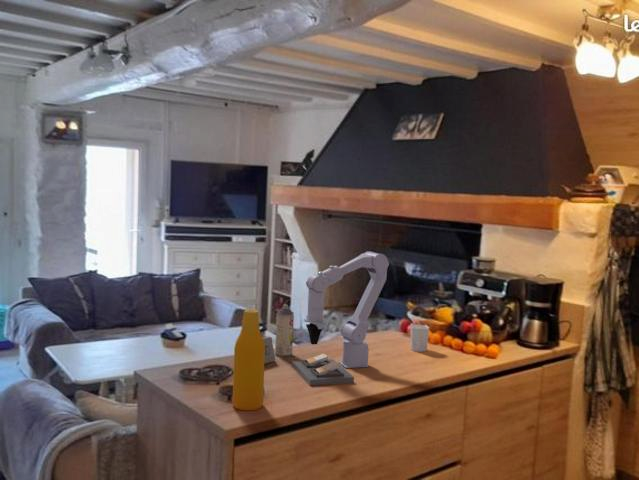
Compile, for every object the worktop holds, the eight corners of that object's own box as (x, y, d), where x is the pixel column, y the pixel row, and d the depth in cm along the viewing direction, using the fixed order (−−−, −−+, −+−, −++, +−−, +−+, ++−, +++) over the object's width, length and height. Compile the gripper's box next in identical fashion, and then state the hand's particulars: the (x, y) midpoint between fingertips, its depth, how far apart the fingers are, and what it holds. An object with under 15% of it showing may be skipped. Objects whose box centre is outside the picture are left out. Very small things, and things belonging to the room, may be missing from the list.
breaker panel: (332, 364, 227) (332, 354, 226) (353, 382, 206) (354, 372, 206) (291, 366, 222) (292, 356, 221) (309, 385, 201) (310, 374, 200)
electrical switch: (258, 366, 220) (257, 341, 220) (248, 364, 223) (247, 339, 223) (275, 361, 227) (274, 337, 227) (265, 359, 230) (265, 335, 230)
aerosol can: (291, 357, 233) (293, 307, 232) (273, 356, 234) (276, 306, 232) (292, 352, 240) (295, 303, 239) (276, 351, 241) (278, 302, 239)
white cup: (429, 352, 250) (430, 329, 249) (410, 351, 250) (412, 328, 249) (426, 347, 258) (427, 325, 257) (408, 346, 258) (409, 324, 257)
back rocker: (325, 357, 222) (323, 353, 221) (328, 360, 218) (327, 356, 217) (307, 363, 220) (306, 359, 219) (311, 367, 216) (309, 362, 216)
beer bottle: (254, 413, 174) (257, 315, 172) (226, 407, 177) (229, 311, 175) (268, 403, 183) (272, 310, 180) (241, 398, 186) (244, 306, 184)
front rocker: (335, 365, 211) (333, 361, 211) (339, 369, 207) (337, 364, 207) (317, 373, 209) (315, 369, 209) (321, 377, 206) (319, 372, 205)
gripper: (299, 303, 224) (297, 339, 225) (311, 311, 210) (309, 349, 211) (317, 303, 226) (315, 338, 227) (330, 311, 212) (328, 348, 214)
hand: (314, 343), depth 219 cm, fingers closed
